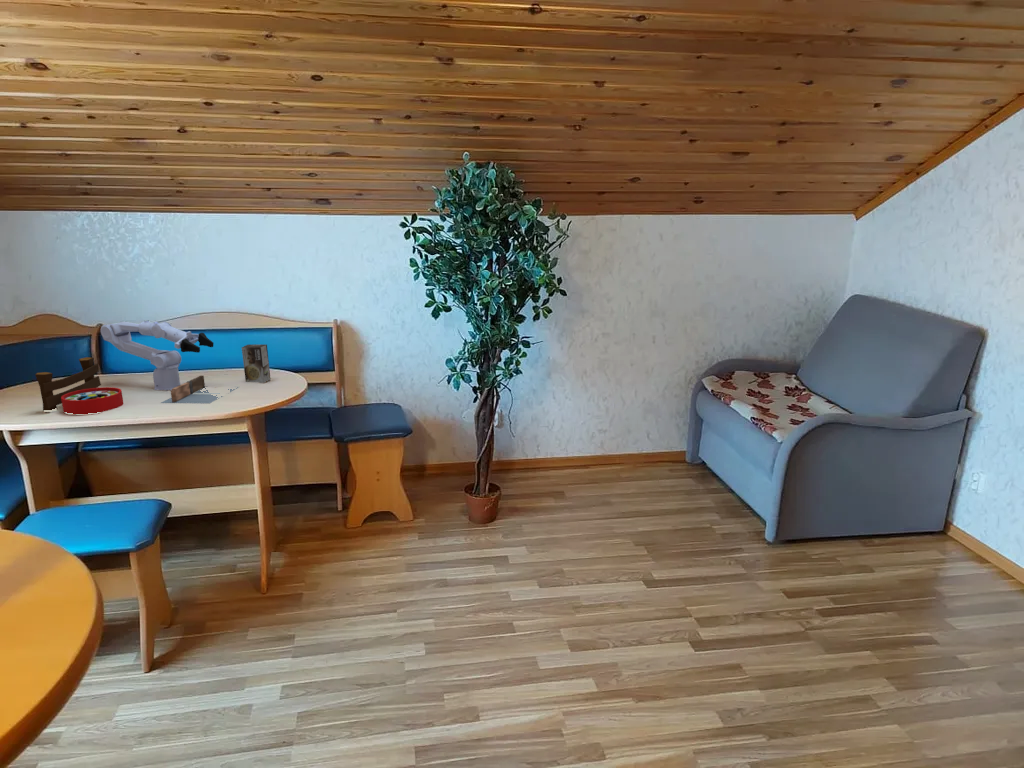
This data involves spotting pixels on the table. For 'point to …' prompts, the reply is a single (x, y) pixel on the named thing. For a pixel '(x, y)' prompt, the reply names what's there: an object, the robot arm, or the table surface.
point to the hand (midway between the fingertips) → (206, 347)
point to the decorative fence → (67, 383)
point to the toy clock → (92, 400)
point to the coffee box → (256, 363)
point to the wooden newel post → (180, 391)
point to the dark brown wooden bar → (196, 384)
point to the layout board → (197, 398)
